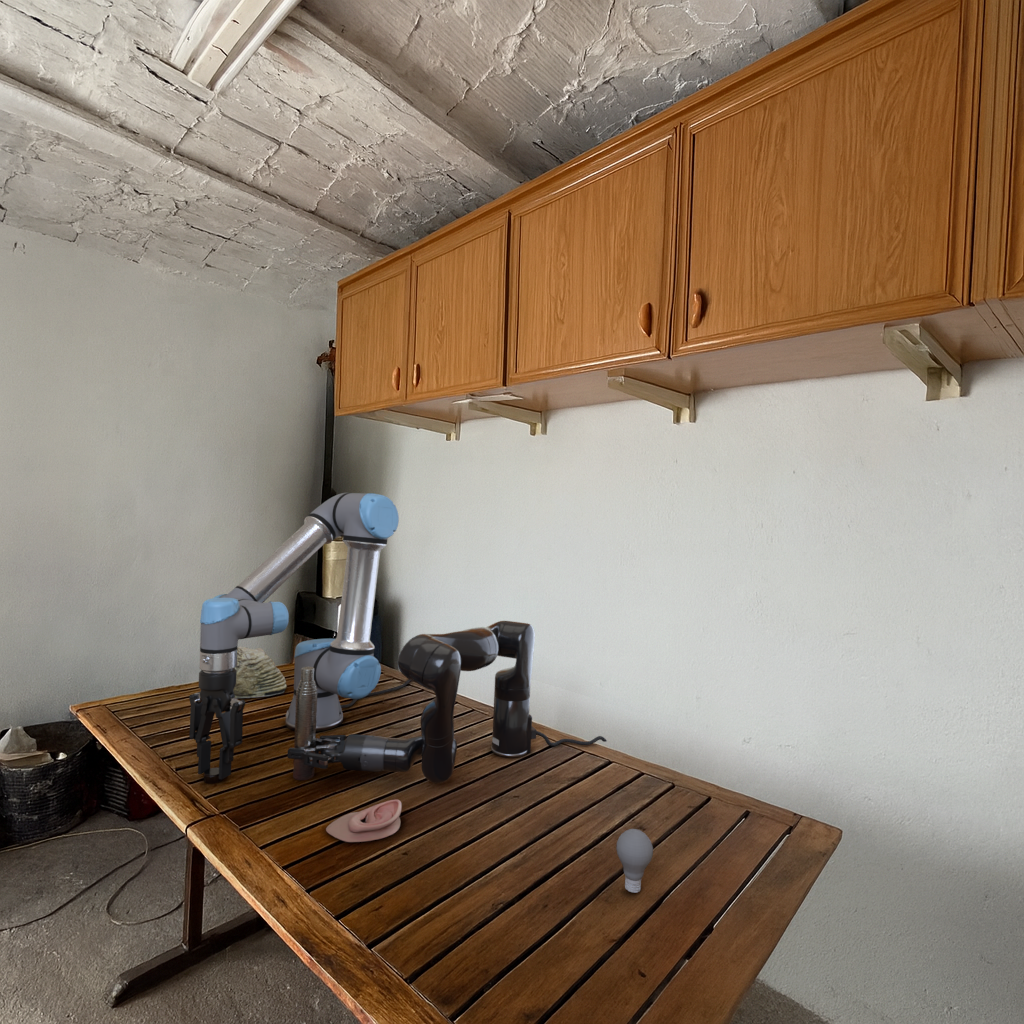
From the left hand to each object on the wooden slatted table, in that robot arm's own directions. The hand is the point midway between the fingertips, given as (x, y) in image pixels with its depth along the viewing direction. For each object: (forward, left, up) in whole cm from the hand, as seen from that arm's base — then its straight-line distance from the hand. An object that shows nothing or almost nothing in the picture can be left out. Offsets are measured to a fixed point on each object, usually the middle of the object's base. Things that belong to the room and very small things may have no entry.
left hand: (214, 774), depth 139 cm
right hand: (-13, +10, +5) cm, 17 cm away
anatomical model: (-10, +40, -1) cm, 41 cm away
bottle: (-15, +12, -1) cm, 19 cm away
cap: (0, 0, 0) cm, 0 cm away
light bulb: (-27, +88, -1) cm, 92 cm away
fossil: (-36, -48, -1) cm, 60 cm away
